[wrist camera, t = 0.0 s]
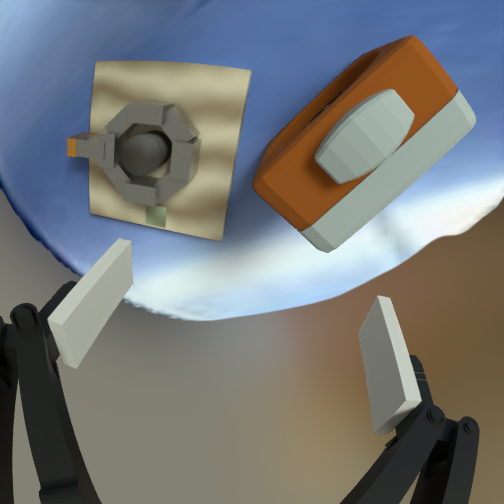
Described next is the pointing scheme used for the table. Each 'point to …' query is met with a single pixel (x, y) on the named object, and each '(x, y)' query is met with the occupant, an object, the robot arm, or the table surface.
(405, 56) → the alarm clock
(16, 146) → the table surface
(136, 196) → the grey handled ring
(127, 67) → the collar base
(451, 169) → the table surface
